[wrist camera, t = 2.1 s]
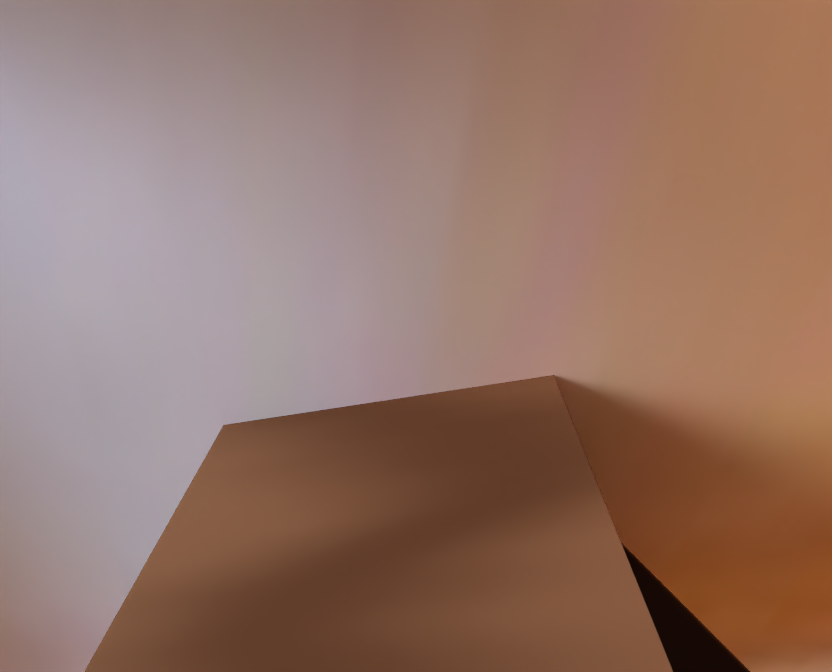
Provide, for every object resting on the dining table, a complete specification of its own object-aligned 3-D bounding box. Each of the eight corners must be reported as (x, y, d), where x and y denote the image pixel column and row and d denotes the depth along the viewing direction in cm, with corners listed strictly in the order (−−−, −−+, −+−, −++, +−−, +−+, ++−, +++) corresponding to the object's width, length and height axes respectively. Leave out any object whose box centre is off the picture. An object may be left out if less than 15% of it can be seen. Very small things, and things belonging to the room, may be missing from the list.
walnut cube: (552, 371, 8) (713, 769, 3) (573, 603, 10) (688, 1031, 6) (225, 421, 8) (-2, 824, 4) (312, 632, 11) (228, 1046, 6)
